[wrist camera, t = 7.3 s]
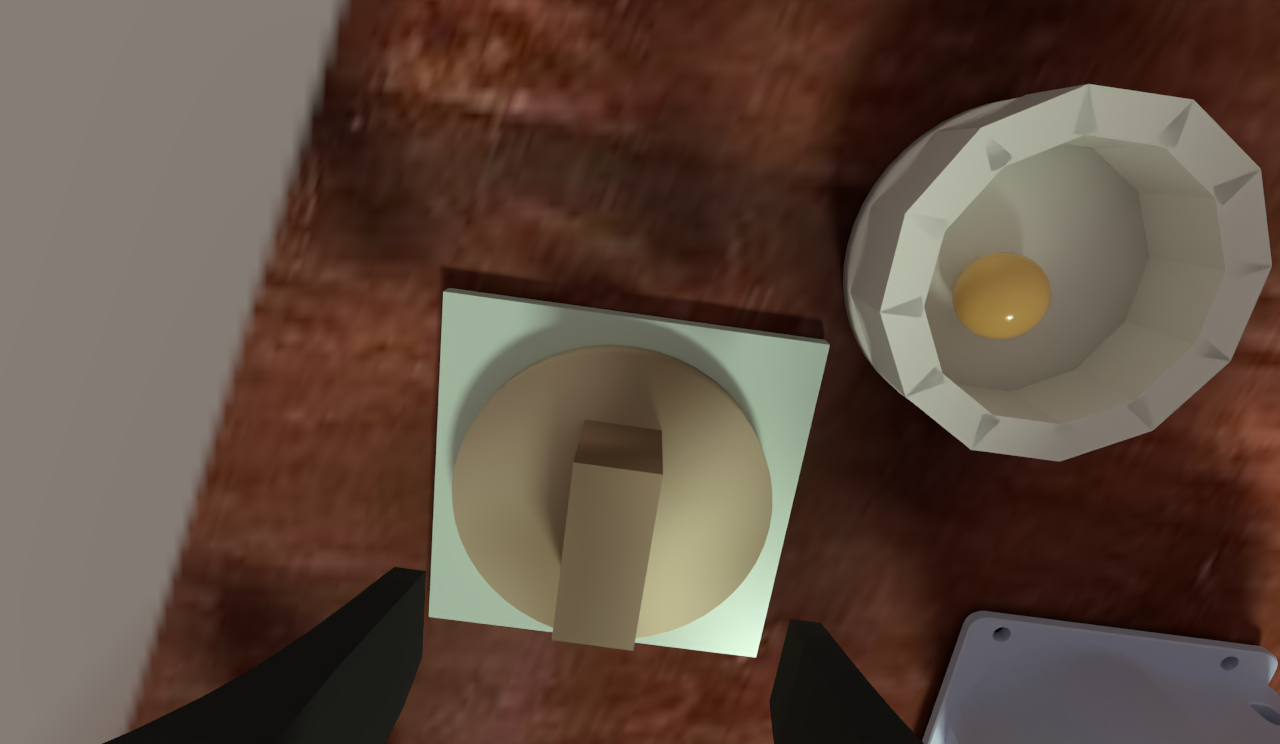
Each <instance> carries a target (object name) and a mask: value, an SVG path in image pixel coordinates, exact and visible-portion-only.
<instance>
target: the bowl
mask: <svg viewBox="0 0 1280 744" xmlns="http://www.w3.org/2000/svg"><path fill="white" fill-rule="evenodd" d="M1271 267H1272V261H1271V252H1270V244H1269V235H1268V227H1267V218H1266V209H1265V201H1264V192H1263V183H1262V175H1261V169H1260V168H1259V167H1258V165H1257V164H1256V163H1255V162H1254V161H1253V160H1252V159H1251V158H1250V157H1249V156H1248V155H1247V154H1246V153H1245V152H1244V151H1243V150H1242V149H1241V148H1240V147H1239V146H1238V145H1237V144H1236V143H1235V142H1234V141H1233V140H1232V139H1231V138H1230V137H1229V136H1228V135H1227V133H1226V132H1225V131H1224V130H1223V129H1222V128H1221V127H1220V126H1219V125H1218V124H1217V123H1216V122H1215V121H1214V120H1213V119H1212V118H1211V117H1210V116H1209V115H1208V114H1207V113H1206V112H1205V111H1204V110H1203V109H1202V108H1201V107H1200V106H1199V105H1198V104H1197V103H1196V102H1195V100H1194V99H1186V98H1179V97H1173V96H1166V95H1159V94H1153V93H1146V92H1139V91H1133V90H1126V89H1119V88H1113V87H1106V86H1099V85H1093V84H1085V85H1079V86H1073V87H1068V88H1062V89H1056V90H1050V91H1044V92H1039V93H1033V94H1027V95H1025V96H1022V97H1020V98H1014V99H1008V100H1003V101H998V102H993V103H988V104H984V105H981V106H978V107H976V108H973V109H970V110H967V111H964V112H962V113H960V114H957V115H955V116H953V117H951V118H949V119H947V120H945V121H943V122H941V123H940V124H938V125H937V126H935V127H933V128H932V129H930V130H929V131H927V132H926V133H924V134H923V135H921V136H920V137H919V138H918V139H916V140H915V141H914V142H913V143H912V144H910V145H909V146H908V147H907V148H905V149H904V150H903V151H902V152H901V153H900V154H899V155H898V156H897V157H896V159H895V160H894V161H893V162H892V163H891V164H890V165H889V166H888V167H887V168H886V170H885V171H884V172H883V173H882V175H881V176H880V177H879V179H878V180H877V181H876V183H875V184H874V185H873V187H872V189H871V190H870V192H869V194H868V196H867V197H866V199H865V201H864V202H863V204H862V206H861V208H860V211H859V213H858V215H857V217H856V220H855V222H854V224H853V227H852V231H851V234H850V237H849V241H848V244H847V249H846V255H845V261H844V269H843V292H844V302H845V309H846V313H847V317H848V321H849V325H850V327H851V330H852V332H853V335H854V337H855V340H856V342H857V344H858V346H859V347H860V349H861V351H862V352H863V354H864V356H865V358H866V359H867V360H868V361H869V363H870V364H871V365H872V366H873V368H874V369H875V370H876V371H877V372H878V373H879V374H880V375H881V376H882V377H883V378H884V379H885V380H886V381H887V382H888V383H889V384H890V385H891V386H893V387H894V388H895V389H896V390H897V391H898V392H899V393H900V394H901V395H903V396H904V397H906V398H907V399H908V400H910V401H911V402H912V403H914V404H915V405H916V406H917V407H919V408H920V409H921V410H922V411H924V412H925V413H926V414H927V415H929V416H930V417H931V418H932V419H933V420H935V421H936V422H937V423H938V424H940V425H941V426H942V427H943V428H945V429H946V430H947V431H948V432H950V433H951V434H952V435H953V436H955V437H956V438H957V439H958V440H959V441H961V442H962V443H963V444H964V445H966V446H967V447H968V448H969V449H970V450H976V451H984V452H991V453H999V454H1006V455H1014V456H1021V457H1028V458H1036V459H1043V460H1051V461H1058V462H1060V461H1063V460H1066V459H1069V458H1072V457H1075V456H1078V455H1081V454H1084V453H1087V452H1090V451H1093V450H1096V449H1099V448H1102V447H1105V446H1108V445H1111V444H1114V443H1117V442H1120V441H1123V440H1126V439H1129V438H1132V437H1135V436H1138V435H1141V434H1144V433H1147V432H1150V431H1153V430H1154V429H1155V428H1156V427H1157V426H1159V425H1160V424H1161V423H1162V422H1163V421H1164V420H1165V419H1166V418H1168V417H1169V416H1170V415H1171V414H1172V413H1173V412H1174V411H1175V410H1176V409H1178V408H1179V407H1180V406H1181V405H1182V404H1183V403H1184V402H1185V401H1187V400H1188V399H1189V398H1190V397H1191V396H1192V395H1193V394H1194V393H1195V392H1197V391H1198V390H1199V389H1200V388H1201V387H1202V386H1203V385H1204V384H1206V383H1207V382H1208V381H1209V380H1210V379H1211V378H1212V377H1213V376H1215V375H1216V374H1217V373H1218V372H1219V371H1220V370H1221V369H1222V368H1223V367H1225V366H1226V365H1227V364H1228V363H1229V362H1230V361H1231V359H1232V357H1233V354H1234V352H1235V350H1236V348H1237V345H1238V343H1239V341H1240V338H1241V336H1242V334H1243V332H1244V329H1245V327H1246V325H1247V322H1248V320H1249V318H1250V316H1251V313H1252V311H1253V309H1254V306H1255V304H1256V302H1257V300H1258V297H1259V295H1260V293H1261V290H1262V288H1263V286H1264V283H1265V281H1266V279H1267V277H1268V274H1269V272H1270V270H1271Z"/></svg>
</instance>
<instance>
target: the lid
mask: <svg viewBox="0 0 1280 744" xmlns="http://www.w3.org/2000/svg"><path fill="white" fill-rule="evenodd" d="M452 506H453V512H454V518H455V523H456V527H457V530H458V533H459V536H460V539H461V542H462V544H463V546H464V548H465V550H466V552H467V555H468V557H469V558H470V560H471V561H472V563H473V565H474V566H475V568H476V569H477V571H478V572H479V574H480V575H481V576H482V577H483V578H484V580H485V581H486V582H487V583H488V584H489V586H490V587H491V588H492V589H493V590H494V591H496V592H497V593H498V594H499V595H500V596H501V597H502V598H503V599H504V600H505V601H507V602H508V603H509V604H511V605H512V606H513V607H515V608H516V609H518V610H519V611H520V612H522V613H524V614H526V615H527V616H529V617H531V618H533V619H534V620H536V621H538V622H541V623H543V624H545V625H548V626H550V627H552V628H553V634H552V640H556V641H564V642H571V643H579V644H587V645H594V646H602V647H609V648H617V649H625V650H632V651H633V649H634V643H635V638H640V637H647V636H653V635H657V634H660V633H664V632H668V631H671V630H674V629H676V628H679V627H682V626H684V625H687V624H689V623H691V622H693V621H695V620H697V619H699V618H700V617H702V616H704V615H706V614H707V613H709V612H710V611H712V610H713V609H714V608H716V607H717V606H719V605H720V604H721V603H722V602H724V601H725V600H726V599H727V598H728V597H729V596H730V595H731V594H733V593H734V592H735V590H736V589H737V588H738V587H739V586H740V585H741V583H742V582H743V581H744V580H745V579H746V577H747V576H748V574H749V573H750V571H751V570H752V568H753V567H754V565H755V564H756V562H757V560H758V558H759V556H760V554H761V551H762V549H763V547H764V544H765V541H766V538H767V535H768V532H769V528H770V522H771V515H772V485H771V478H770V472H769V468H768V465H767V461H766V458H765V455H764V452H763V449H762V446H761V444H760V441H759V439H758V437H757V435H756V432H755V430H754V428H753V426H752V424H751V422H750V421H749V419H748V418H747V416H746V415H745V413H744V411H743V410H742V408H741V407H740V406H739V405H738V403H737V402H736V401H735V400H734V399H733V398H732V397H731V395H730V394H729V393H728V392H727V391H726V390H725V389H724V388H722V387H721V386H720V385H719V384H718V383H717V382H716V381H714V380H713V379H712V378H711V377H709V376H708V375H706V374H705V373H703V372H702V371H700V370H699V369H697V368H696V367H694V366H692V365H690V364H688V363H686V362H684V361H682V360H680V359H678V358H675V357H673V356H670V355H667V354H664V353H661V352H658V351H655V350H650V349H645V348H640V347H635V346H623V345H597V346H587V347H582V348H576V349H570V350H567V351H564V352H561V353H558V354H554V355H551V356H549V357H547V358H544V359H542V360H540V361H538V362H536V363H534V364H532V365H530V366H528V367H527V368H525V369H524V370H522V371H521V372H519V373H517V374H516V375H514V376H513V377H512V378H511V379H510V380H508V381H507V382H506V383H505V384H504V385H503V386H501V387H500V388H499V389H498V390H497V391H496V393H495V394H494V395H493V396H492V397H491V398H490V399H489V401H488V402H487V403H486V404H485V406H484V407H483V408H482V410H481V411H480V413H479V414H478V416H477V417H476V419H475V420H474V422H473V423H472V425H471V426H470V428H469V430H468V431H467V433H466V436H465V438H464V440H463V442H462V444H461V447H460V449H459V452H458V456H457V459H456V463H455V466H454V474H453V481H452Z"/></svg>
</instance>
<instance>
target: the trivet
mask: <svg viewBox="0 0 1280 744" xmlns="http://www.w3.org/2000/svg"><path fill="white" fill-rule="evenodd" d="M597 345H623V346H635V347H640V348H645V349H650V350H655V351H658V352H661V353H664V354H667V355H670V356H673V357H675V358H678V359H680V360H682V361H684V362H686V363H688V364H690V365H692V366H694V367H696V368H697V369H699V370H700V371H702V372H703V373H705V374H706V375H708V376H709V377H711V378H712V379H713V380H714V381H716V382H717V383H718V384H719V385H720V386H721V387H722V388H724V389H725V390H726V391H727V392H728V393H729V394H730V395H731V397H732V398H733V399H734V400H735V401H736V402H737V403H738V405H739V406H740V407H741V408H742V410H743V411H744V413H745V415H746V416H747V418H748V419H749V421H750V422H751V424H752V426H753V428H754V430H755V432H756V435H757V437H758V439H759V441H760V444H761V446H762V449H763V452H764V455H765V458H766V461H767V465H768V468H769V472H770V478H771V485H772V515H771V522H770V528H769V532H768V535H767V538H766V541H765V544H764V547H763V549H762V551H761V554H760V556H759V558H758V560H757V562H756V564H755V565H754V567H753V568H752V570H751V571H750V573H749V574H748V576H747V577H746V579H745V580H744V581H743V582H742V583H741V585H740V586H739V587H738V588H737V589H736V590H735V592H734V593H733V594H731V595H730V596H729V597H728V598H727V599H726V600H725V601H724V602H722V603H721V604H720V605H719V606H717V607H716V608H714V609H713V610H712V611H710V612H709V613H707V614H706V615H704V616H702V617H700V618H699V619H697V620H695V621H693V622H691V623H689V624H687V625H684V626H682V627H679V628H676V629H674V630H671V631H668V632H664V633H660V634H657V635H653V636H647V637H640V638H635V643H643V644H651V645H659V646H667V647H675V648H683V649H691V650H699V651H707V652H715V653H723V654H731V655H739V656H747V657H755V658H756V656H757V652H758V648H759V643H760V639H761V635H762V631H763V626H764V622H765V618H766V614H767V610H768V605H769V601H770V597H771V593H772V588H773V584H774V580H775V576H776V571H777V567H778V563H779V559H780V554H781V550H782V546H783V542H784V538H785V533H786V529H787V525H788V521H789V516H790V512H791V508H792V504H793V499H794V495H795V491H796V487H797V482H798V478H799V474H800V470H801V465H802V461H803V457H804V453H805V449H806V444H807V440H808V436H809V432H810V427H811V423H812V419H813V415H814V410H815V406H816V402H817V398H818V393H819V389H820V385H821V381H822V377H823V372H824V368H825V364H826V360H827V355H828V351H829V347H830V344H829V343H828V342H827V341H826V340H823V339H816V338H809V337H801V336H794V335H787V334H780V333H772V332H765V331H758V330H751V329H743V328H736V327H729V326H722V325H714V324H707V323H700V322H693V321H685V320H678V319H671V318H664V317H657V316H649V315H642V314H635V313H628V312H620V311H613V310H606V309H599V308H591V307H584V306H577V305H570V304H562V303H555V302H548V301H541V300H533V299H526V298H519V297H512V296H504V295H497V294H490V293H483V292H475V291H468V290H461V289H454V288H448V289H446V290H445V291H443V308H442V330H441V353H440V375H439V398H438V421H437V443H436V466H435V488H434V511H433V533H432V556H431V578H430V601H429V617H435V618H443V619H451V620H459V621H467V622H475V623H483V624H491V625H499V626H507V627H515V628H523V629H531V630H539V631H547V632H553V628H552V627H550V626H548V625H545V624H543V623H541V622H538V621H536V620H534V619H533V618H531V617H529V616H527V615H526V614H524V613H522V612H520V611H519V610H518V609H516V608H515V607H513V606H512V605H511V604H509V603H508V602H507V601H505V600H504V599H503V598H502V597H501V596H500V595H499V594H498V593H497V592H496V591H494V590H493V589H492V588H491V587H490V586H489V584H488V583H487V582H486V581H485V580H484V578H483V577H482V576H481V575H480V574H479V572H478V571H477V569H476V568H475V566H474V565H473V563H472V561H471V560H470V558H469V557H468V555H467V552H466V550H465V548H464V546H463V544H462V542H461V539H460V536H459V533H458V530H457V527H456V523H455V518H454V512H453V506H452V481H453V474H454V466H455V463H456V459H457V456H458V452H459V449H460V447H461V444H462V442H463V440H464V438H465V436H466V433H467V431H468V430H469V428H470V426H471V425H472V423H473V422H474V420H475V419H476V417H477V416H478V414H479V413H480V411H481V410H482V408H483V407H484V406H485V404H486V403H487V402H488V401H489V399H490V398H491V397H492V396H493V395H494V394H495V393H496V391H497V390H498V389H499V388H500V387H501V386H503V385H504V384H505V383H506V382H507V381H508V380H510V379H511V378H512V377H513V376H514V375H516V374H517V373H519V372H521V371H522V370H524V369H525V368H527V367H528V366H530V365H532V364H534V363H536V362H538V361H540V360H542V359H544V358H547V357H549V356H551V355H554V354H558V353H561V352H564V351H567V350H570V349H576V348H582V347H587V346H597Z"/></svg>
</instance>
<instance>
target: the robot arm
mask: <svg viewBox="0 0 1280 744" xmlns="http://www.w3.org/2000/svg"><path fill="white" fill-rule="evenodd" d="M425 577H426V571H420V570H413V569H405V568H398V567H394V568H393V569H391V570H390V571H389V572H387V573H386V574H385V575H383V576H382V577H381V578H379V579H378V580H377V581H375V582H374V583H373V584H371V585H370V586H369V587H368V588H366V589H365V590H364V591H362V592H361V593H360V594H358V595H357V596H356V597H355V598H353V599H352V600H351V601H349V602H348V603H347V604H345V605H344V606H343V607H341V608H340V609H339V610H337V611H336V612H335V613H333V614H332V615H331V616H329V617H328V618H326V619H325V620H324V621H322V622H321V623H320V624H318V625H317V626H316V627H314V628H313V629H311V630H310V631H309V632H307V633H306V634H304V635H303V636H301V637H300V638H299V639H297V640H296V641H294V642H293V643H291V644H290V645H288V646H287V647H285V648H284V649H282V650H281V651H279V652H278V653H276V654H275V655H273V656H272V657H270V658H269V659H267V660H266V661H264V662H262V663H261V664H259V665H257V666H256V667H254V668H252V669H251V670H249V671H247V672H246V673H244V674H242V675H241V676H239V677H237V678H235V679H234V680H232V681H230V682H228V683H227V684H225V685H223V686H221V687H219V688H218V689H216V690H214V691H212V692H210V693H209V694H207V695H205V696H203V697H201V698H199V699H197V700H195V701H193V702H191V703H189V704H187V705H185V706H183V707H181V708H179V709H177V710H175V711H173V712H171V713H168V714H166V715H164V716H162V717H160V718H158V719H156V720H154V721H152V722H150V723H148V724H146V725H144V726H142V727H140V728H137V729H135V730H133V731H131V732H129V733H126V734H124V735H122V736H119V737H117V738H115V739H113V740H110V741H108V742H105V743H103V744H385V742H386V741H387V739H388V737H389V735H390V733H391V731H392V729H393V727H394V725H395V723H396V721H397V719H398V717H399V715H400V713H401V711H402V709H403V707H404V704H405V701H406V699H407V696H408V694H409V691H410V688H411V686H412V683H413V680H414V678H415V675H416V672H417V669H418V667H419V664H420V661H421V658H422V647H423V624H424V600H425ZM1001 627H1003V628H1002V630H1001V631H999V632H996V633H994V631H995V630H996V629H998V628H1001ZM1277 665H1278V662H1277V658H1276V657H1275V656H1274V655H1273V654H1271V653H1270V652H1269V651H1268V650H1266V649H1265V648H1264V647H1260V646H1256V645H1248V644H1240V643H1232V642H1224V641H1216V640H1209V639H1201V638H1193V637H1185V636H1177V635H1169V634H1162V633H1154V632H1146V631H1138V630H1130V629H1123V628H1115V627H1107V626H1099V625H1091V624H1083V623H1076V622H1068V621H1060V620H1052V619H1044V618H1037V617H1029V616H1021V615H1013V614H1005V613H997V612H990V611H977V612H974V613H972V614H970V615H969V616H968V617H967V618H966V619H965V621H964V623H963V626H962V628H961V631H960V634H959V637H958V640H957V643H956V646H955V648H954V651H953V654H952V657H951V660H950V663H949V666H948V668H947V671H946V674H945V677H944V680H943V683H942V686H941V688H940V691H939V694H938V697H937V700H936V703H935V706H934V708H933V711H932V714H931V717H930V720H929V723H928V726H927V728H926V731H925V734H924V737H923V740H922V741H921V740H920V739H919V738H918V737H917V736H916V735H915V734H914V733H913V732H912V731H911V729H910V728H909V727H908V726H907V725H906V724H905V723H904V722H903V721H902V720H901V719H900V718H899V716H898V715H897V714H896V713H895V712H894V711H893V710H892V709H891V707H890V706H889V705H888V704H887V703H886V702H885V701H884V699H883V698H882V697H881V696H880V695H879V694H878V692H877V691H876V690H875V689H874V688H873V687H872V685H871V684H870V683H869V682H868V681H867V679H866V678H865V677H864V676H863V675H862V673H861V672H860V671H859V670H858V668H857V667H856V666H855V665H854V663H853V662H852V661H851V660H850V659H849V657H848V656H847V655H846V654H845V652H844V651H843V650H842V649H841V647H840V646H839V645H838V644H837V642H836V641H835V640H834V639H833V637H832V636H831V635H830V634H829V632H828V631H827V630H826V629H825V628H824V626H823V625H822V624H821V623H816V622H808V621H801V620H793V619H790V622H789V626H788V630H787V634H786V638H785V642H784V646H783V650H782V654H781V658H780V662H779V666H778V670H777V674H776V678H775V682H774V686H773V690H772V694H771V698H770V710H771V720H772V730H773V738H774V744H1280V695H1279V694H1278V693H1277V692H1276V691H1275V690H1273V689H1272V688H1271V687H1270V686H1269V685H1268V684H1269V682H1270V680H1271V678H1272V676H1273V675H1274V673H1275V671H1276V669H1277Z"/></svg>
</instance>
